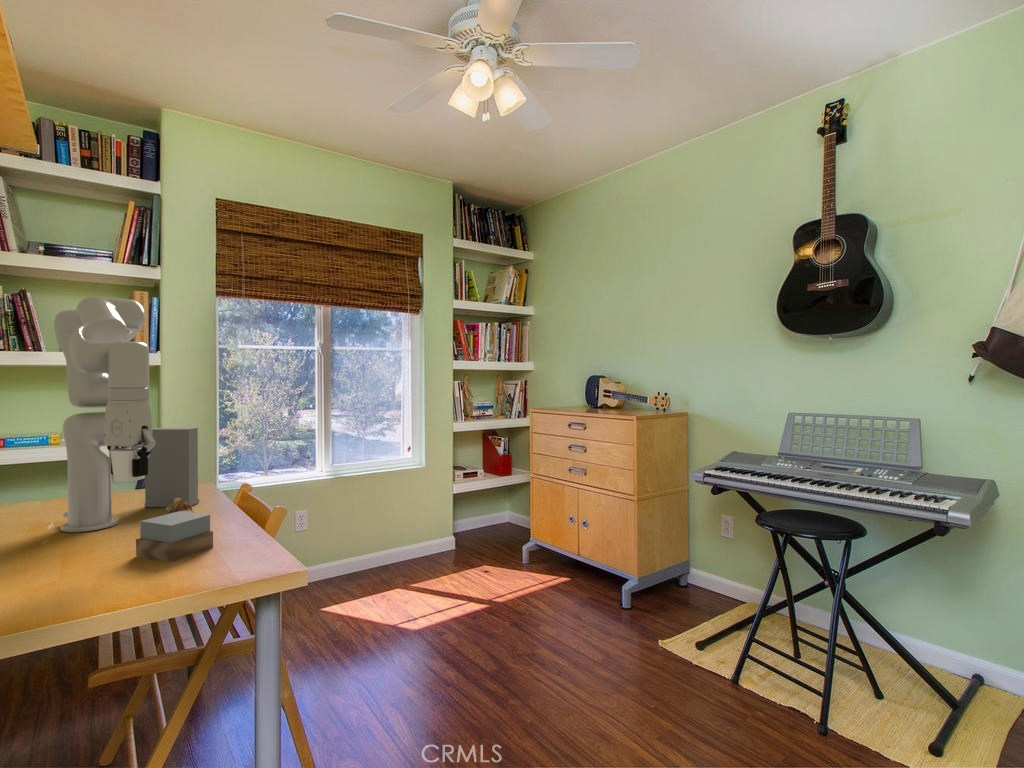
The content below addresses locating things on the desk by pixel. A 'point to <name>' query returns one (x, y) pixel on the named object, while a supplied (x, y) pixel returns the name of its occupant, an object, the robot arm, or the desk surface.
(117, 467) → the beige cup
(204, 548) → the base block
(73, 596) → the desk surface
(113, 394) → the robot arm
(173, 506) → the lion figurine
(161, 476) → the tall grey upright box
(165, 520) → the top block
